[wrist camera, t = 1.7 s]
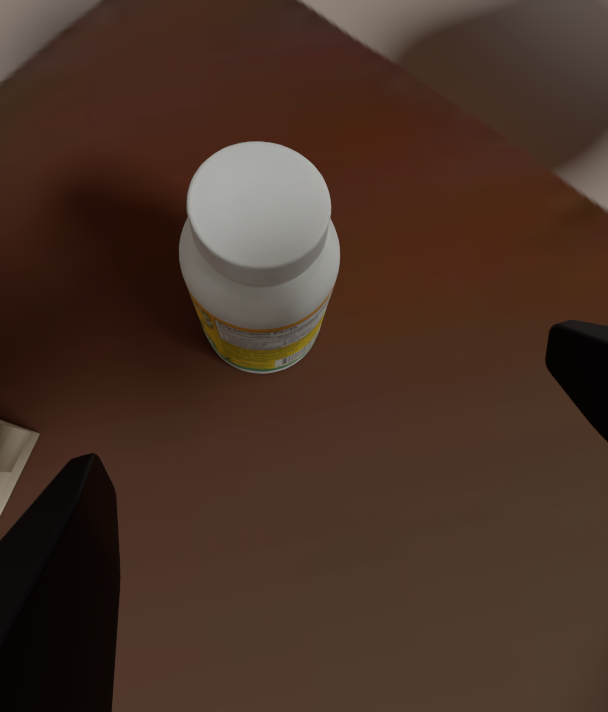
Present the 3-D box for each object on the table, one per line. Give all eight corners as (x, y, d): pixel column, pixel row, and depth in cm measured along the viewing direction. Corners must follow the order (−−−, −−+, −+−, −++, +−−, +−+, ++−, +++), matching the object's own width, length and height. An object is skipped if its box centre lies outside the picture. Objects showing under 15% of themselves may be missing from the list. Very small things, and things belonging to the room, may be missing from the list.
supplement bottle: (311, 383, 22) (344, 309, 13) (192, 366, 22) (139, 277, 12) (325, 275, 23) (365, 137, 14) (214, 257, 23) (181, 106, 14)
